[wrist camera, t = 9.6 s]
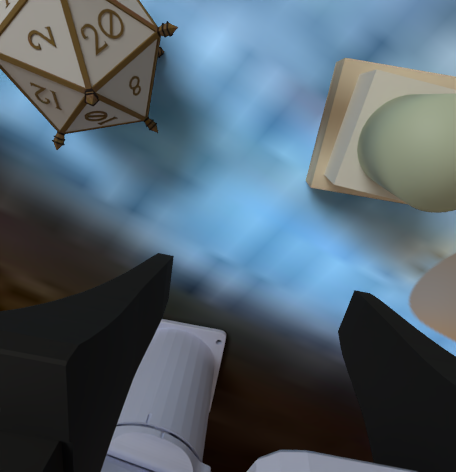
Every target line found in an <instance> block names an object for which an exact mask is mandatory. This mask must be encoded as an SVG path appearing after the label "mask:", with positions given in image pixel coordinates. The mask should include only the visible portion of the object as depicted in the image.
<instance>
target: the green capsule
mask: <svg viewBox="0 0 456 472" xmlns="http://www.w3.org/2000/svg"><path fill="white" fill-rule="evenodd" d="M357 153H358V160H359V163H360V166H361V168H362V170H363V171H364V173H365V174H366V175H367V176H368V177H369V178H370V179H371V180H373V181H374V182H376V183H377V184H379V185H380V186H382V187H383V188H385V189H386V190H387V191H389V192H390V193H392V194H393V195H395V196H396V197H398V198H399V199H401V200H402V201H404V202H405V203H407V204H408V205H410V206H411V207H414V208H416V209H418V210H422V211H426V212H437V213H439V212H448V211H453V210H456V94H411V95H404V96H400V97H397V98H394V99H392V100H390V101H388V102H386V103H385V104H383V105H382V106H380V107H379V108H378V109H377V110H376V111H375V112H374V113H373V114H372V115H371V116H370V117H369V119H368V120H367V121H366V123H365V125H364V126H363V128H362V131H361V133H360V136H359V140H358V146H357Z"/></svg>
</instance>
